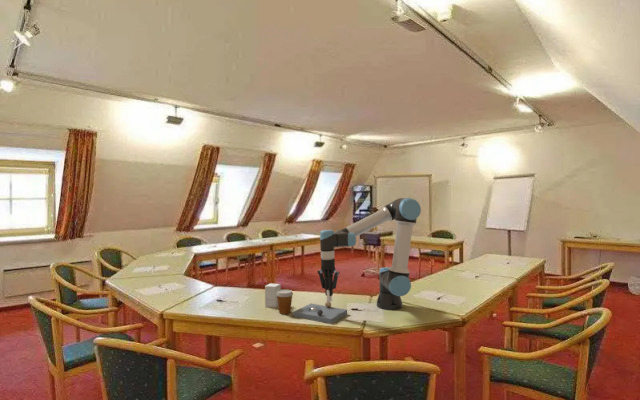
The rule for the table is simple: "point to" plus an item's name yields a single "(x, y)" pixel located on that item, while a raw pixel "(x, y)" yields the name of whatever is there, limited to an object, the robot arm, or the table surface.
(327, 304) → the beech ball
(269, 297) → the supplement box
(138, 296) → the table surface
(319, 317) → the board
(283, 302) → the disposable coffee cup
